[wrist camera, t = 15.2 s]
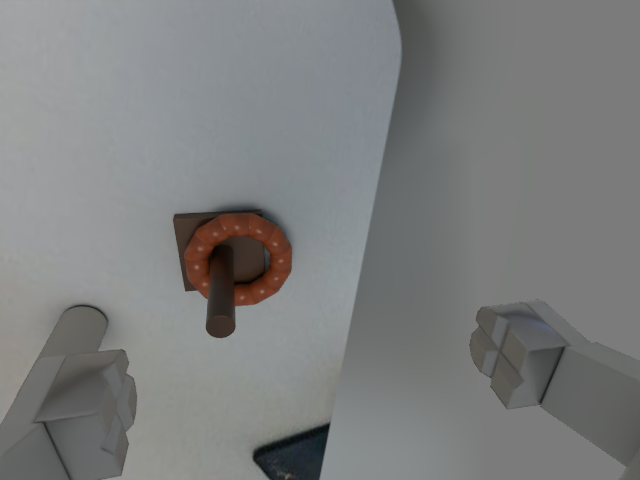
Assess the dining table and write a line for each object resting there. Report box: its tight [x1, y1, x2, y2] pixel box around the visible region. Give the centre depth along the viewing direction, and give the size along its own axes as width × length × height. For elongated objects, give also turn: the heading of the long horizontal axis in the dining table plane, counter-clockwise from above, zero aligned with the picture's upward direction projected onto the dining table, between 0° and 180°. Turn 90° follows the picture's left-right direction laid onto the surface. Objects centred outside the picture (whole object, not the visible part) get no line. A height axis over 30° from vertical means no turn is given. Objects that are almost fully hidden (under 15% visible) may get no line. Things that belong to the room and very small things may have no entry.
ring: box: [184, 213, 292, 306], centre depth 43 cm, size 11×11×2 cm
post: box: [173, 209, 265, 338], centre depth 39 cm, size 9×9×13 cm
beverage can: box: [17, 306, 107, 395], centre depth 40 cm, size 5×5×12 cm
